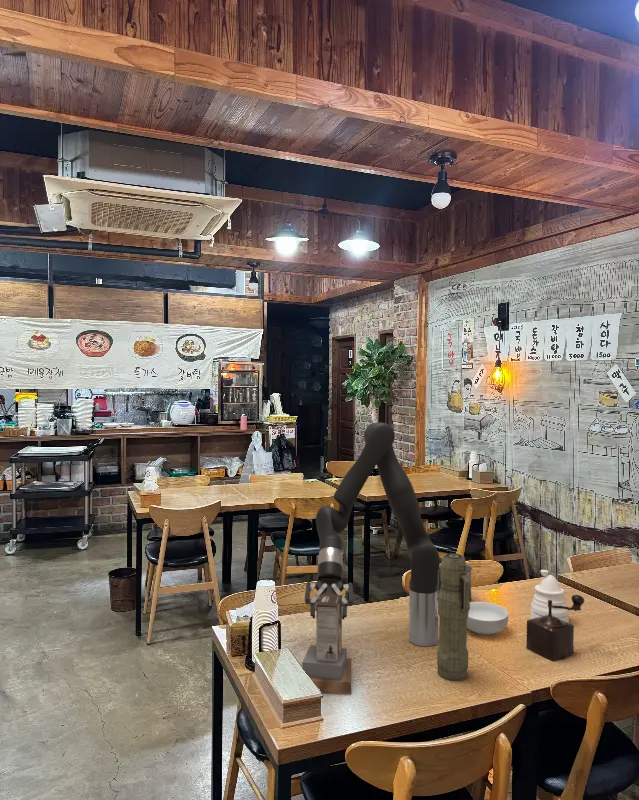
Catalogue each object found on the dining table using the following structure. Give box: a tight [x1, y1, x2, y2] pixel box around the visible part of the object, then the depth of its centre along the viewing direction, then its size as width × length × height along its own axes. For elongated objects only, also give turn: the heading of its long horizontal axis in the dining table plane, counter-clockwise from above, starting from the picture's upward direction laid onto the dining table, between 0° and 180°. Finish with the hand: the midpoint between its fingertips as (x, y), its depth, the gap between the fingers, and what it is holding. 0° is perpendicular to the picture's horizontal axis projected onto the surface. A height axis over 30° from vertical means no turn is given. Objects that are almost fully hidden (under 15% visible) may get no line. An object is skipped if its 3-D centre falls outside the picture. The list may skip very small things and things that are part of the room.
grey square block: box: [301, 644, 348, 680], centre depth 166 cm, size 11×11×4 cm
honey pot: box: [530, 569, 570, 623], centre depth 210 cm, size 13×13×18 cm
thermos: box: [436, 552, 470, 682], centre depth 171 cm, size 9×12×35 cm
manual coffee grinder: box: [525, 594, 585, 662], centre depth 187 cm, size 16×11×18 cm
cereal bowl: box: [467, 601, 509, 636], centre depth 202 cm, size 17×17×7 cm
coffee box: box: [315, 594, 343, 662], centre depth 167 cm, size 9×6×16 cm
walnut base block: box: [310, 657, 353, 695], centre depth 167 cm, size 14×14×4 cm
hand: (328, 618), depth 167 cm, fingers open, 8 cm apart
